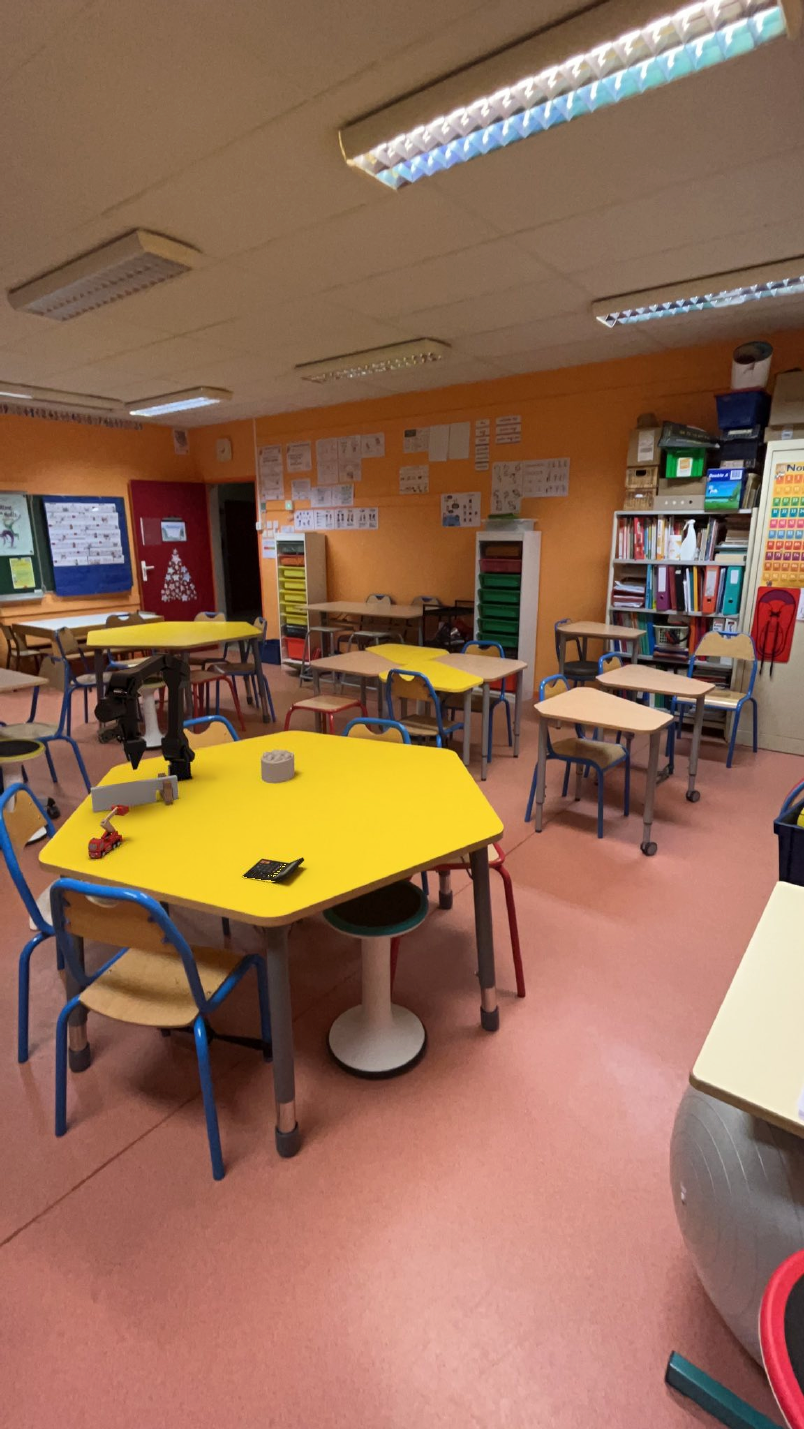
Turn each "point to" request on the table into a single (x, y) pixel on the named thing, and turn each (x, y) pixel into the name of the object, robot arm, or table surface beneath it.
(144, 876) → the table surface
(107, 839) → the toy fire truck
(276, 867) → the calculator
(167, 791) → the walnut stand
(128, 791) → the grey board
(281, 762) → the lumpy-topped squat cylinder
